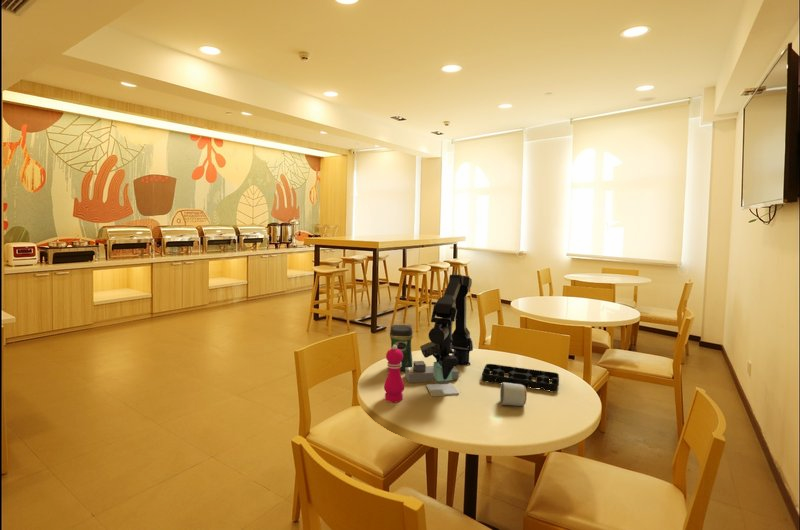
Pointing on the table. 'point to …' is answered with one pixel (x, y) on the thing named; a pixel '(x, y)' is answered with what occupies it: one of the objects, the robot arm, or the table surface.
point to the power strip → (423, 372)
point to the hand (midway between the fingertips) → (442, 376)
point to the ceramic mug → (513, 394)
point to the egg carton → (521, 376)
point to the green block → (440, 374)
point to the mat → (442, 389)
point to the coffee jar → (402, 343)
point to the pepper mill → (394, 376)
